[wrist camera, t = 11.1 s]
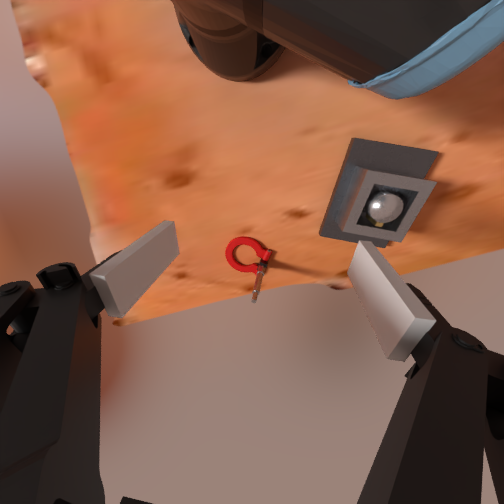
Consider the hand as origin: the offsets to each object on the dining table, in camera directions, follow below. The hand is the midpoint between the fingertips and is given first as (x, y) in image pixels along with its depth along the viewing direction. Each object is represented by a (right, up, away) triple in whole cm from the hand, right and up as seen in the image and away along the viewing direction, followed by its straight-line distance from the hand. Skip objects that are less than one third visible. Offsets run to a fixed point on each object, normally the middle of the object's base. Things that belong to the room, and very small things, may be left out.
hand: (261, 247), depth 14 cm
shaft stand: (+19, +9, +19) cm, 29 cm away
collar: (+19, +8, +18) cm, 28 cm away
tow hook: (-2, -1, +28) cm, 29 cm away
